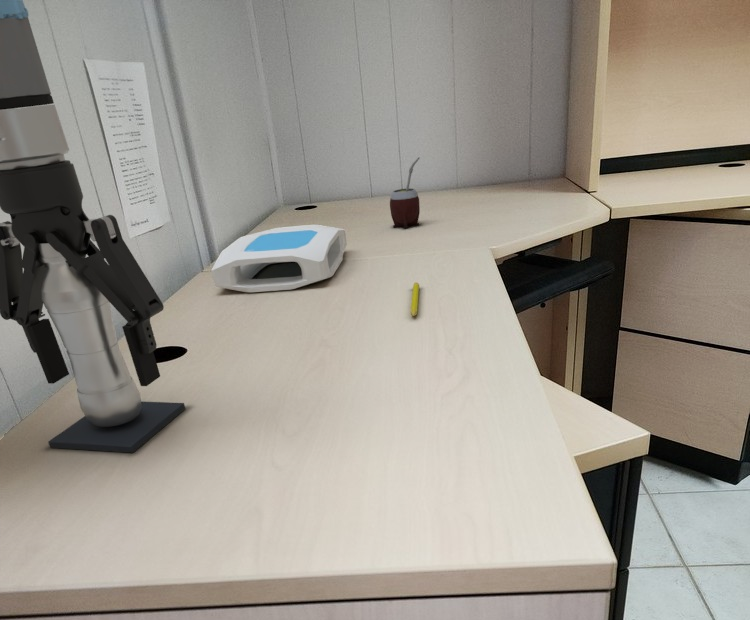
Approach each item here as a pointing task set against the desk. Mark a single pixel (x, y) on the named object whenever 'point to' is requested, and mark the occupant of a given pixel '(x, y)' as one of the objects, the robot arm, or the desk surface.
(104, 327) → the plastic bottle
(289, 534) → the desk surface
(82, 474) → the desk surface
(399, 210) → the mate gourd
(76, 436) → the coaster
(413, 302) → the pencil
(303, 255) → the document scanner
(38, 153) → the robot arm
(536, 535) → the desk surface
